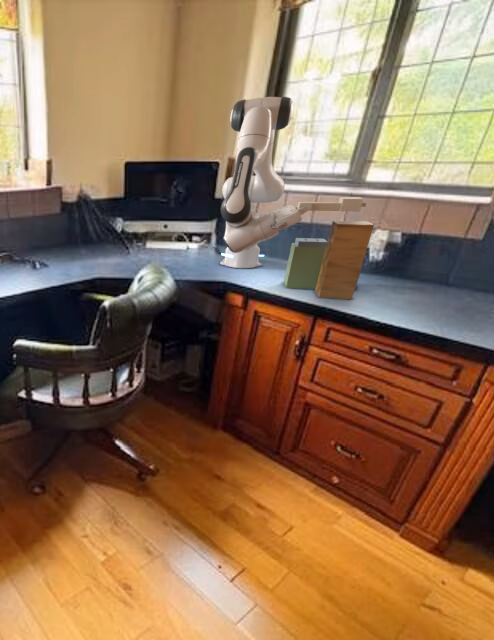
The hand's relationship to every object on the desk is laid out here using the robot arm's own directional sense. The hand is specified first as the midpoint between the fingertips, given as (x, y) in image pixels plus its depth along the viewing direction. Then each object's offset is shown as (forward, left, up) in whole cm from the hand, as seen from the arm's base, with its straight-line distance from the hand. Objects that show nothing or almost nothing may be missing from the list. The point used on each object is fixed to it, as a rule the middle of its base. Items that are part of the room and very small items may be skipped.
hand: (310, 204), depth 147 cm
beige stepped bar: (0, +7, -2) cm, 7 cm away
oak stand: (0, +15, -32) cm, 35 cm away
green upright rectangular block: (-11, +5, -32) cm, 34 cm away
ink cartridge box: (-15, +23, -32) cm, 42 cm away
